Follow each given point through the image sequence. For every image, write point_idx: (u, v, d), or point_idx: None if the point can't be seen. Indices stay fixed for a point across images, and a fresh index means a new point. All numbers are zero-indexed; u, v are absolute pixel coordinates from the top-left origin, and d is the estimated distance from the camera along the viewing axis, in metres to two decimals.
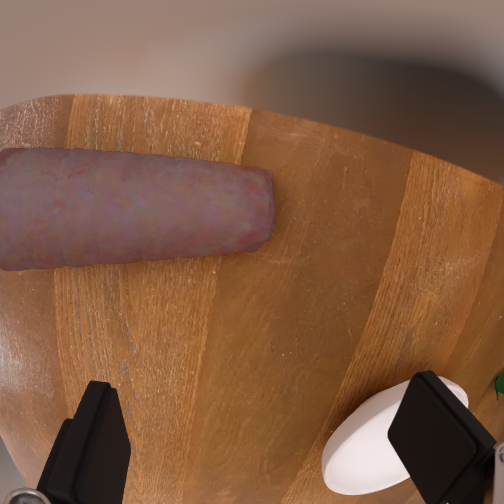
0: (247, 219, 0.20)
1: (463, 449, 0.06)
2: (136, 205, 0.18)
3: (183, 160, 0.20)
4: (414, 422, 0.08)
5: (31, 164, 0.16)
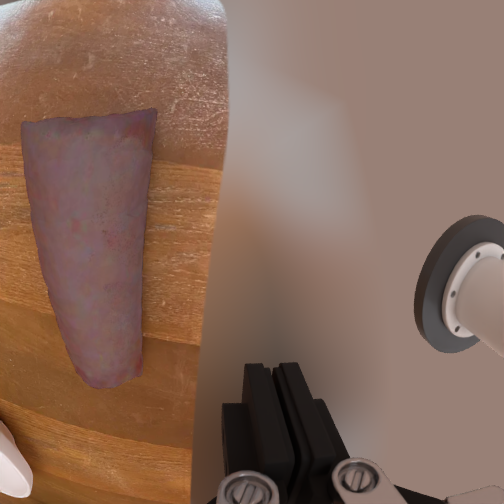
0: (94, 375, 0.21)
1: (296, 453, 0.06)
2: (84, 300, 0.18)
3: (136, 318, 0.22)
4: None
5: (119, 177, 0.17)
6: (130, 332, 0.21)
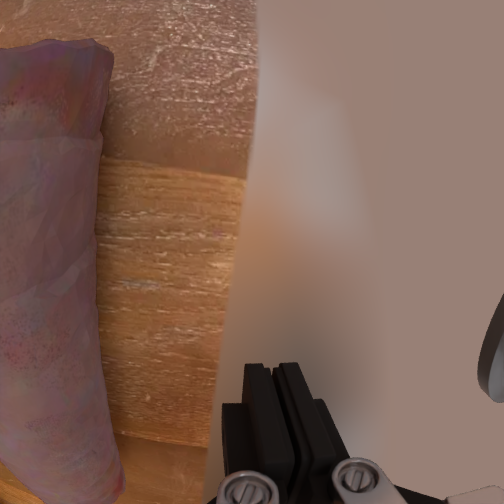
0: None
1: (296, 453, 0.06)
2: (2, 437, 0.07)
3: (101, 444, 0.11)
4: None
5: None
6: (94, 466, 0.10)
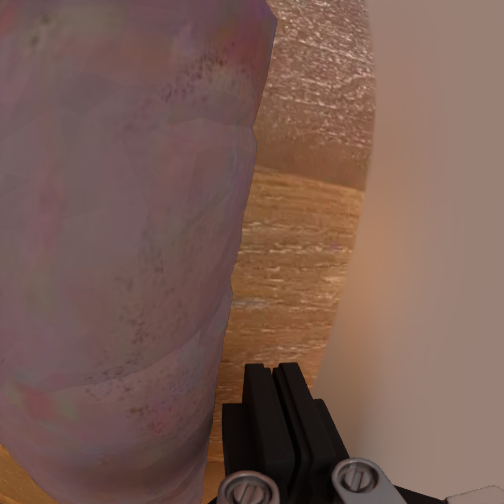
0: None
1: (296, 453, 0.06)
2: None
3: (201, 482, 0.10)
4: None
5: (182, 235, 0.04)
6: None
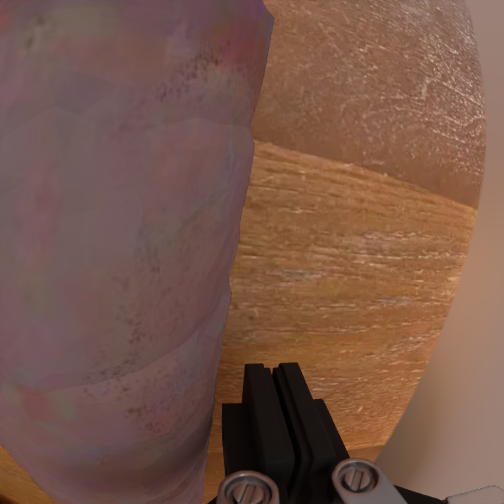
0: None
1: (296, 453, 0.06)
2: None
3: (201, 482, 0.10)
4: None
5: (178, 234, 0.04)
6: None
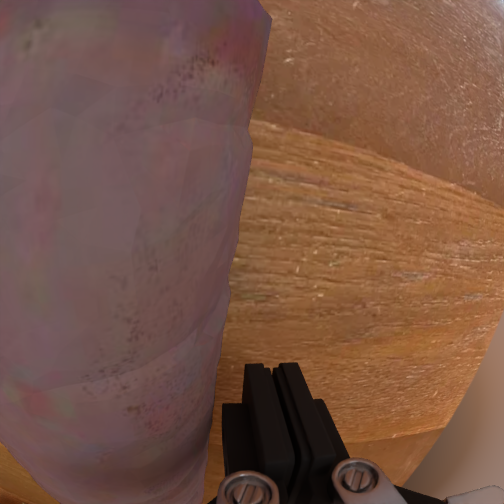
0: None
1: (296, 453, 0.06)
2: None
3: (201, 482, 0.10)
4: None
5: (176, 234, 0.04)
6: None
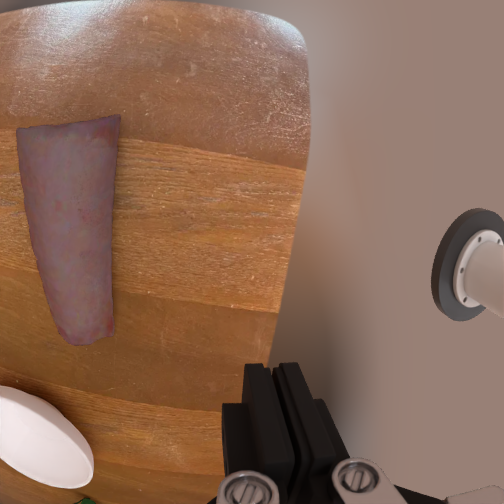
0: (72, 332, 0.25)
1: (296, 453, 0.06)
2: (64, 265, 0.23)
3: (106, 282, 0.26)
4: None
5: (90, 168, 0.21)
6: (101, 294, 0.26)
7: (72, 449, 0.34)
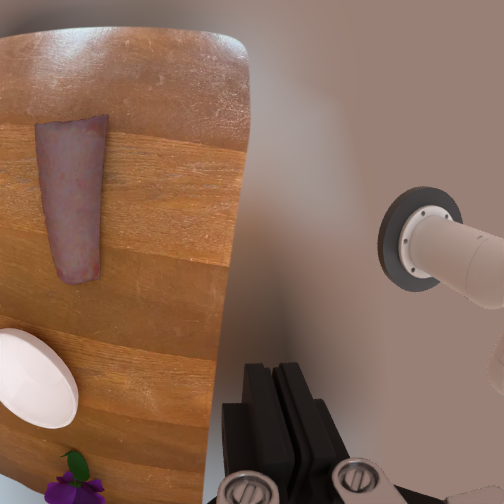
0: (67, 272, 0.35)
1: (296, 453, 0.06)
2: (64, 219, 0.32)
3: (94, 235, 0.36)
4: None
5: (85, 151, 0.30)
6: (90, 242, 0.35)
7: (63, 392, 0.44)
